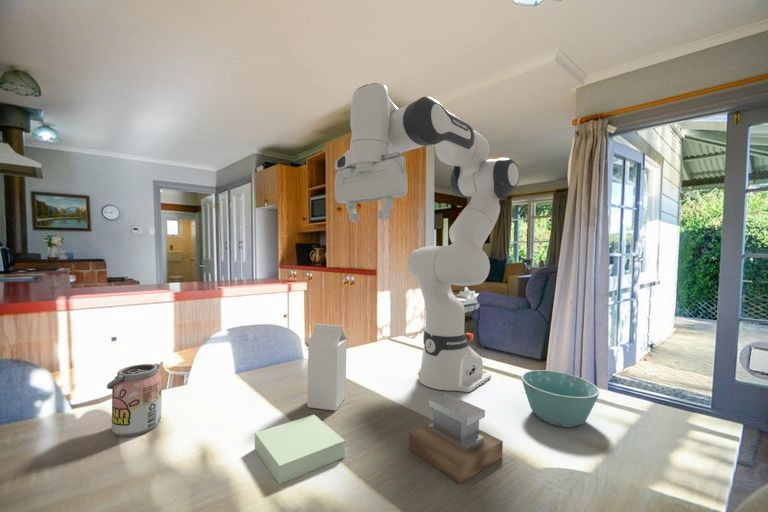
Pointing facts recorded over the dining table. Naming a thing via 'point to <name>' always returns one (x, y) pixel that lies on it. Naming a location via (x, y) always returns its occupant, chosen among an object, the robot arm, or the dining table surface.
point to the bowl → (559, 397)
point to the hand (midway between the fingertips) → (368, 220)
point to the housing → (456, 422)
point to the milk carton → (326, 367)
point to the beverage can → (136, 400)
